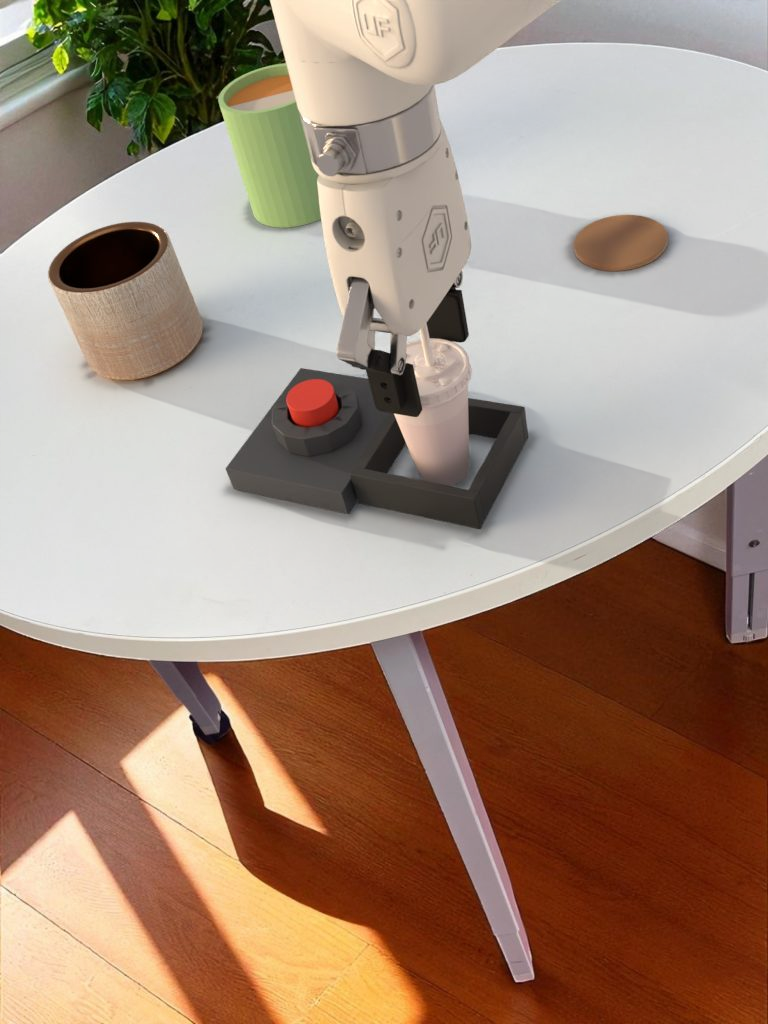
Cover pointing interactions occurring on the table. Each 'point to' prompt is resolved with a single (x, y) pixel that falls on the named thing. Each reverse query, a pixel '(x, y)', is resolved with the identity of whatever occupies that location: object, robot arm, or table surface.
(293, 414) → the stop button
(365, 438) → the button base
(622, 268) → the coaster
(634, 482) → the table surface
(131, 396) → the table surface
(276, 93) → the mug
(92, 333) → the planter
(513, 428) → the frame
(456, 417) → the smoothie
